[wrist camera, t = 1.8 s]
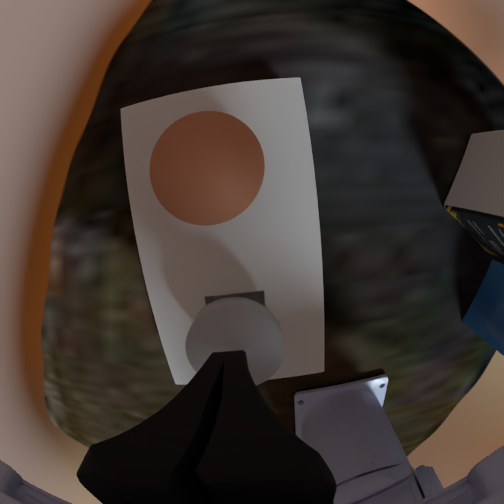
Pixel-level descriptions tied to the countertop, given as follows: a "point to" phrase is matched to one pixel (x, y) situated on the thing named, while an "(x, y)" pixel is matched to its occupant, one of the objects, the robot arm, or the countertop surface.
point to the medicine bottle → (481, 191)
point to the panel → (234, 225)
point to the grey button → (237, 335)
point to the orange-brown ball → (207, 168)
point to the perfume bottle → (489, 308)
